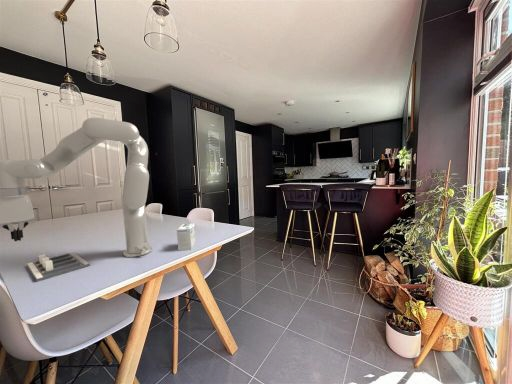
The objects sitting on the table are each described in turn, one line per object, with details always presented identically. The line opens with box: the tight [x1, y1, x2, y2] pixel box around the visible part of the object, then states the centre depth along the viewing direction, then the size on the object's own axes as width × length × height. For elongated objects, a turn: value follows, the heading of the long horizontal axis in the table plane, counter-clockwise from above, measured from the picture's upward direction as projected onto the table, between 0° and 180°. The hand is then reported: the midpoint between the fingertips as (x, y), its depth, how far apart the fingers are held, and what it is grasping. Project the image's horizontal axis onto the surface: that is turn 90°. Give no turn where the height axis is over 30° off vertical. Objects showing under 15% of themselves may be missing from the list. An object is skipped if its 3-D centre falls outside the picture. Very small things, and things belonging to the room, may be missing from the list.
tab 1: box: [38, 253, 47, 264], centre depth 93 cm, size 2×2×4 cm
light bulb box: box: [176, 223, 196, 251], centre depth 110 cm, size 11×7×11 cm, turn 5°
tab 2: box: [41, 256, 50, 267], centre depth 89 cm, size 2×2×4 cm
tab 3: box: [44, 260, 53, 271], centre depth 85 cm, size 2×2×4 cm
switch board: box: [26, 251, 90, 282], centre depth 92 cm, size 24×16×2 cm, turn 53°
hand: (17, 240), depth 83 cm, fingers closed
